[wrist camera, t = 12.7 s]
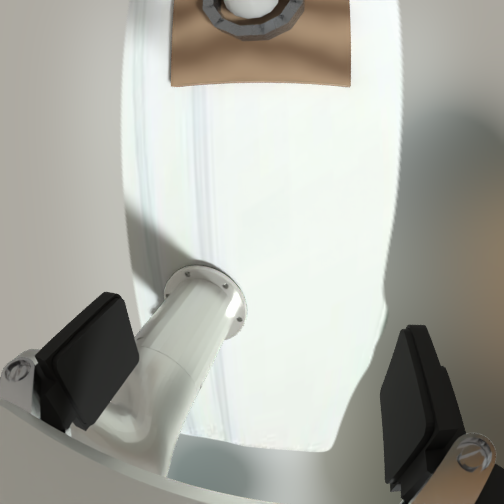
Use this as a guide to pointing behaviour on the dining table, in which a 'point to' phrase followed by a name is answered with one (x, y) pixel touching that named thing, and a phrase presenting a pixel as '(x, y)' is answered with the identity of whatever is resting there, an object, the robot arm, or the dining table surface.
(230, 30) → the collar
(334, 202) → the dining table surface
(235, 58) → the board
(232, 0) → the salt shaker
